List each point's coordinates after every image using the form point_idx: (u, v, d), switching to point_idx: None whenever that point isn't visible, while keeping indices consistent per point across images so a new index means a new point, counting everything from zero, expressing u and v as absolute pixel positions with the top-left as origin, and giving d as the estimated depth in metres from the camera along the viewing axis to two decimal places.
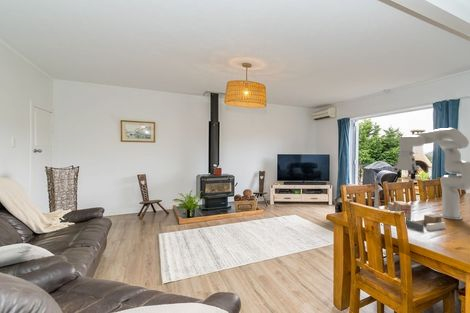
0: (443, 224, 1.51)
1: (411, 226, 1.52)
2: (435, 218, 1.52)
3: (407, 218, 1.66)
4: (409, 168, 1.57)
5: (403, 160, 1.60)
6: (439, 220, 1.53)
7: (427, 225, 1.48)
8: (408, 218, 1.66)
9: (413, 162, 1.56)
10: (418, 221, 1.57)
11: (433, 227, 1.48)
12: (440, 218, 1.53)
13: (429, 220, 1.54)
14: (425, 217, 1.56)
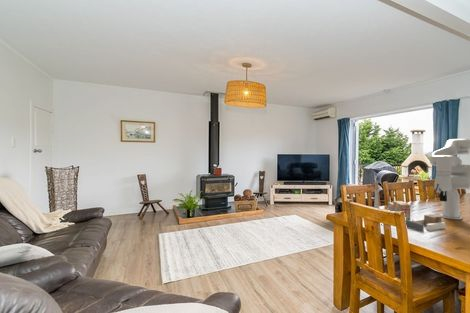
0: (443, 224, 1.51)
1: (411, 226, 1.52)
2: (435, 218, 1.52)
3: (407, 218, 1.66)
4: (451, 188, 1.57)
5: (447, 181, 1.55)
6: (439, 220, 1.53)
7: (427, 225, 1.48)
8: (408, 218, 1.66)
9: None
10: (418, 221, 1.57)
11: (433, 227, 1.48)
12: (440, 218, 1.53)
13: (429, 220, 1.54)
14: (425, 217, 1.56)
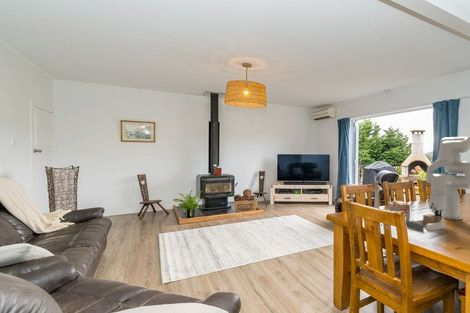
0: (443, 224, 1.51)
1: (411, 226, 1.52)
2: (434, 218, 1.52)
3: (406, 218, 1.66)
4: (445, 207, 1.56)
5: (442, 200, 1.54)
6: (438, 220, 1.53)
7: (427, 225, 1.48)
8: (407, 218, 1.66)
9: None
10: (418, 221, 1.57)
11: (433, 227, 1.48)
12: (439, 218, 1.53)
13: (428, 220, 1.54)
14: (424, 217, 1.56)
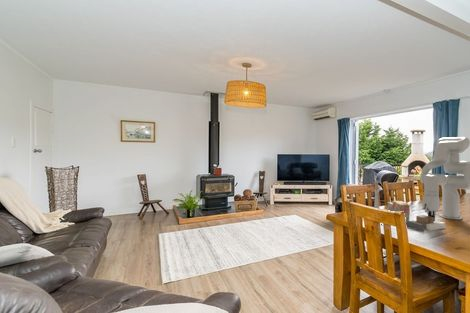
0: (443, 224, 1.51)
1: (411, 226, 1.52)
2: (427, 219, 1.50)
3: (406, 218, 1.67)
4: (439, 208, 1.54)
5: (435, 200, 1.52)
6: (431, 221, 1.51)
7: (427, 225, 1.48)
8: (407, 218, 1.67)
9: None
10: None
11: (433, 227, 1.48)
12: (432, 219, 1.51)
13: (421, 221, 1.52)
14: (417, 218, 1.54)
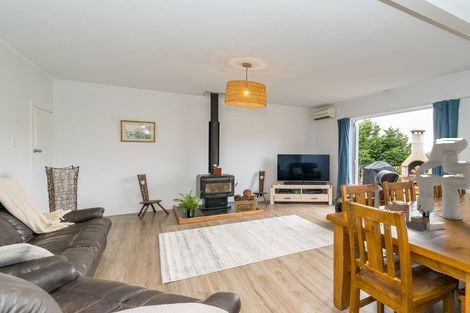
0: (443, 224, 1.51)
1: (411, 226, 1.52)
2: (421, 220, 1.48)
3: None
4: (433, 208, 1.53)
5: (430, 201, 1.51)
6: (426, 222, 1.50)
7: (427, 225, 1.48)
8: (406, 218, 1.67)
9: None
10: None
11: (433, 227, 1.48)
12: (427, 220, 1.50)
13: None
14: (412, 219, 1.53)
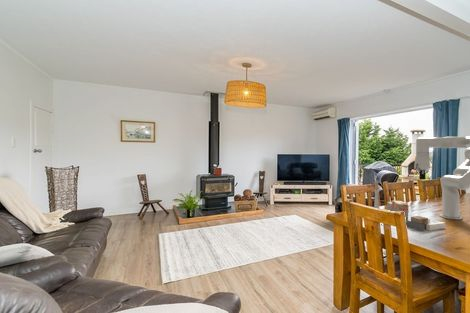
0: (443, 224, 1.51)
1: (411, 226, 1.52)
2: (421, 220, 1.48)
3: None
4: (429, 167, 1.72)
5: (426, 160, 1.70)
6: (426, 222, 1.50)
7: (427, 225, 1.48)
8: None
9: None
10: None
11: (433, 227, 1.48)
12: (427, 220, 1.50)
13: None
14: (412, 219, 1.53)
